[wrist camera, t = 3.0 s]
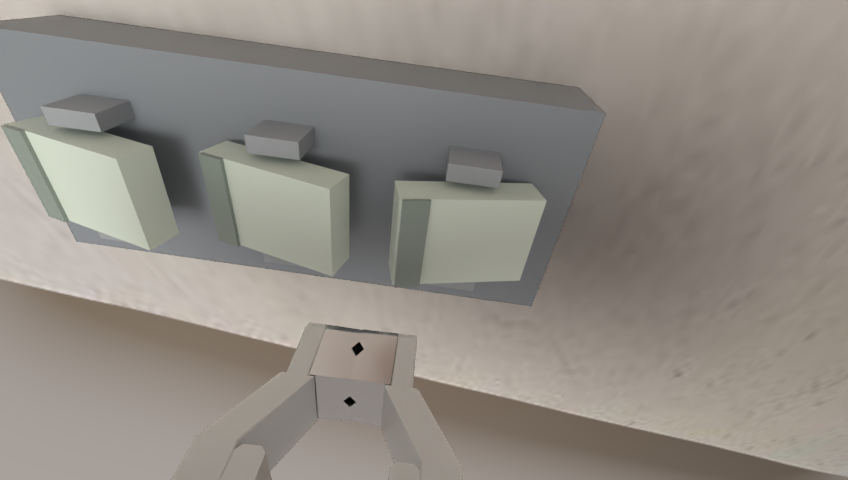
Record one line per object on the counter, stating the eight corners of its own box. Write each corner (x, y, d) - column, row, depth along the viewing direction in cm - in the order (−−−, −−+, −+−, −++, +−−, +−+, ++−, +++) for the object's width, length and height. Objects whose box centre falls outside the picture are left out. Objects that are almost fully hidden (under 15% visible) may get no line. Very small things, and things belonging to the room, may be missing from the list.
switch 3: (531, 183, 15) (548, 202, 14) (508, 260, 18) (520, 282, 16) (394, 180, 14) (400, 201, 13) (388, 263, 17) (392, 287, 15)
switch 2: (349, 174, 14) (327, 190, 13) (349, 257, 17) (330, 278, 15) (226, 140, 15) (196, 153, 14) (242, 222, 18) (217, 239, 17)
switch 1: (152, 146, 14) (111, 160, 13) (179, 233, 17) (147, 252, 15) (45, 114, 16) (-1, 125, 14) (84, 200, 18) (47, 215, 17)
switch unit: (578, 87, 17) (622, 129, 13) (520, 263, 23) (535, 336, 18) (59, 15, 17) (-92, 29, 13) (132, 208, 23) (48, 267, 19)
